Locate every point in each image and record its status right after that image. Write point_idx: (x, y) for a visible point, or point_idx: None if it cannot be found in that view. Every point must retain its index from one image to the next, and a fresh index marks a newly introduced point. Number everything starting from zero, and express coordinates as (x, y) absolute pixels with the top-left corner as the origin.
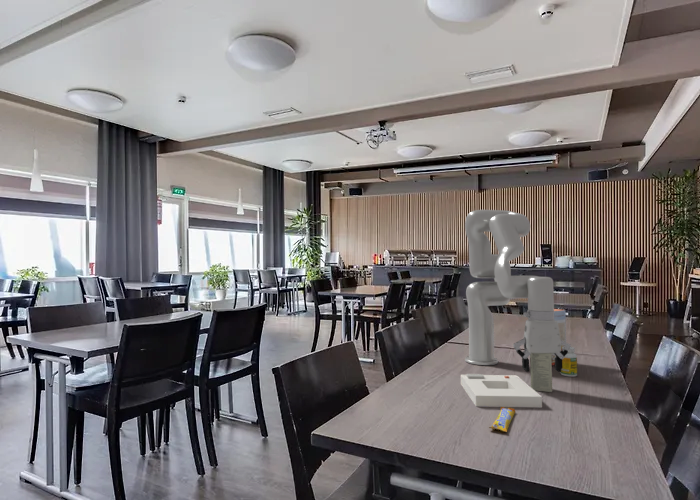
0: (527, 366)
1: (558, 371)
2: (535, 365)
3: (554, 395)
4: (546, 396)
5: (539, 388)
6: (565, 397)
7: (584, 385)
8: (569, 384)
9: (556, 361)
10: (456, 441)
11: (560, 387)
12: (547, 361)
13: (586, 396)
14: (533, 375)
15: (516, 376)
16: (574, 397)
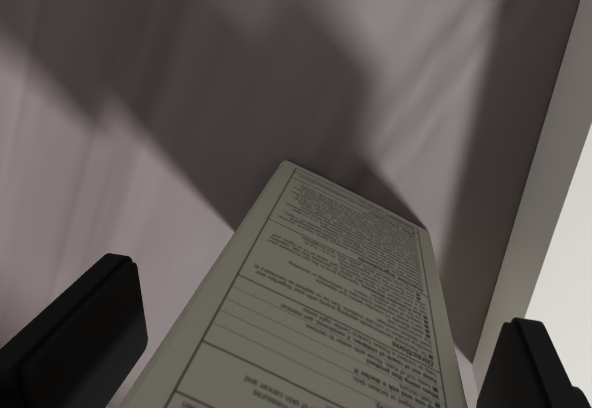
0: (561, 374)
1: (134, 267)
2: (408, 379)
3: (299, 78)
4: (387, 49)
5: (371, 210)
6: (227, 16)
7: (14, 285)
8: None
9: (73, 392)
10: None
11: (173, 267)
12: (225, 360)
13: (53, 44)
14: (423, 299)
15: None
16: (151, 15)
